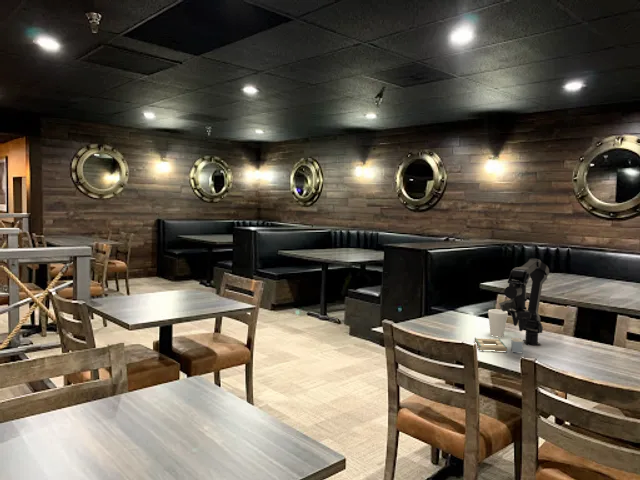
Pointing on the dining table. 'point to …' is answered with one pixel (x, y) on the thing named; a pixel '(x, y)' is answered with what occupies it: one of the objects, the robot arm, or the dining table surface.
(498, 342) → the well
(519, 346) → the grey and beige block
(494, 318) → the foam cup
